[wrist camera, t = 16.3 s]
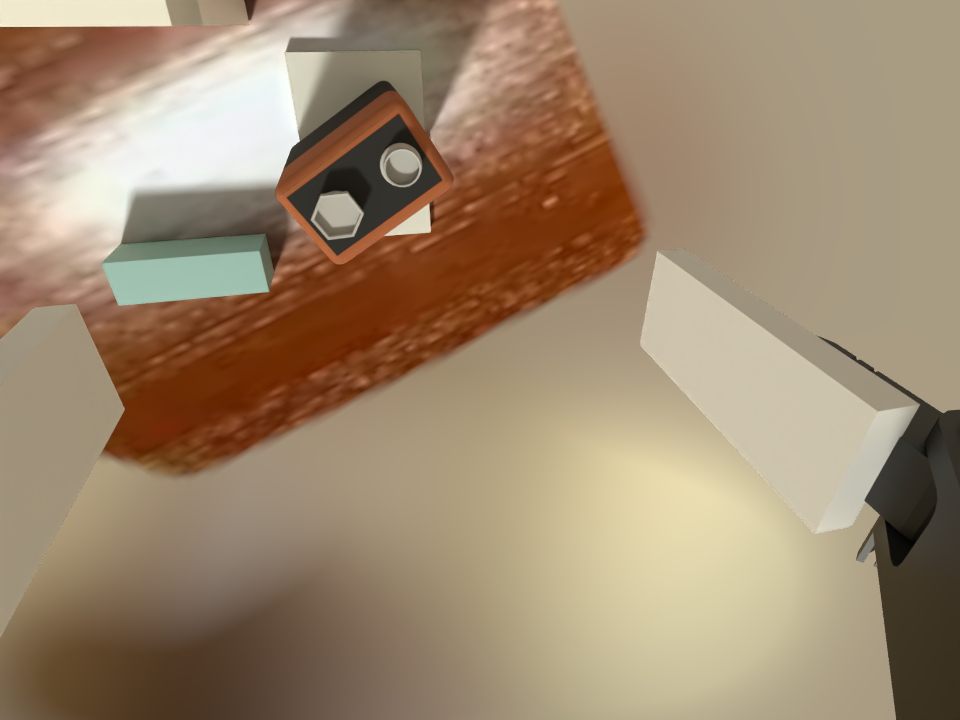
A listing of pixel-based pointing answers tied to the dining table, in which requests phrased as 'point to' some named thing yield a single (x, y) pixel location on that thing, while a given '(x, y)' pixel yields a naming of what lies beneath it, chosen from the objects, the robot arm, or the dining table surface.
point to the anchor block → (189, 269)
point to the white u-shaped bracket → (121, 13)
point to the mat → (355, 93)
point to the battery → (362, 174)
